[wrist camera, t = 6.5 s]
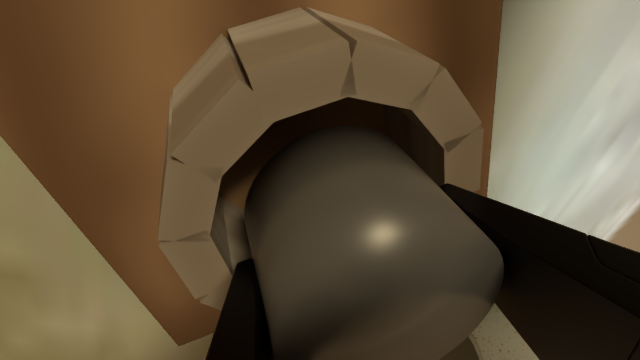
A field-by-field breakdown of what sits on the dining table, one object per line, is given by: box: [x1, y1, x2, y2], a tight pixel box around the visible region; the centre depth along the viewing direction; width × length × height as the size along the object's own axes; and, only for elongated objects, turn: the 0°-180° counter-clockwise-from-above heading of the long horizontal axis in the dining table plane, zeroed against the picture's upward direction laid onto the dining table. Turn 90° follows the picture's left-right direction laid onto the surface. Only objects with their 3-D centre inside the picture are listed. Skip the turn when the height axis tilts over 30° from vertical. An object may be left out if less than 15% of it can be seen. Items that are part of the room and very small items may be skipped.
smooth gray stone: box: [244, 126, 504, 360], centre depth 9 cm, size 5×5×4 cm
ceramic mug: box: [439, 303, 539, 360], centre depth 24 cm, size 11×8×8 cm
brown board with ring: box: [0, 0, 503, 346], centre depth 13 cm, size 16×16×6 cm
